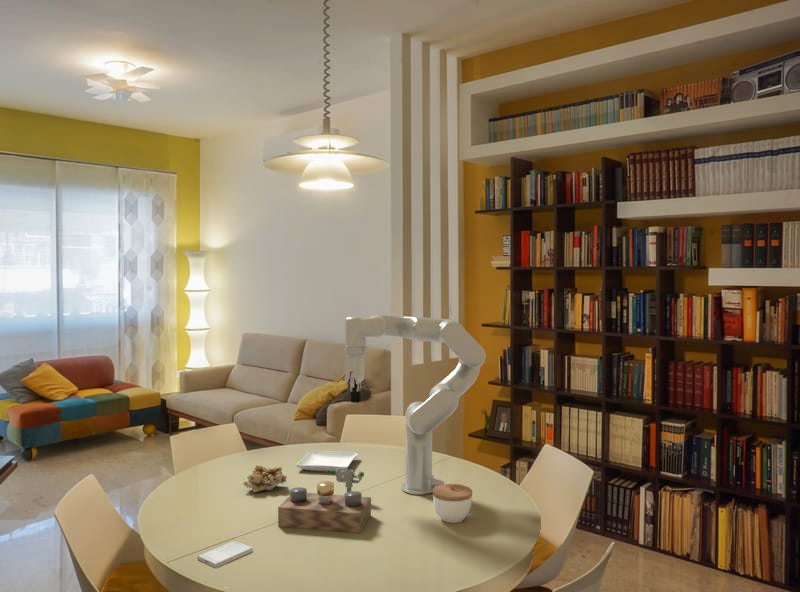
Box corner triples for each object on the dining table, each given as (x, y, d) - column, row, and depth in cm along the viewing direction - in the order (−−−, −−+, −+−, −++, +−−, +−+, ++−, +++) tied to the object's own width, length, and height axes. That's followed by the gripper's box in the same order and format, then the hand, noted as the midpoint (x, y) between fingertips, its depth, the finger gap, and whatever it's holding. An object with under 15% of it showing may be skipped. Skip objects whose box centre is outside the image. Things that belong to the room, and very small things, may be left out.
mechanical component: (362, 501, 216) (362, 473, 215) (333, 499, 218) (333, 471, 217) (364, 498, 219) (364, 470, 218) (336, 496, 221) (336, 468, 220)
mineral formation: (255, 481, 237) (293, 480, 235) (242, 499, 224) (282, 499, 222) (252, 461, 235) (291, 460, 233) (239, 478, 222) (280, 477, 220)
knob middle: (335, 506, 201) (335, 481, 201) (331, 512, 196) (330, 487, 195) (320, 505, 202) (320, 480, 202) (315, 511, 197) (314, 486, 196)
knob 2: (363, 516, 199) (363, 491, 199) (359, 522, 194) (359, 497, 194) (347, 515, 200) (347, 490, 200) (342, 521, 195) (342, 496, 195)
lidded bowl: (445, 529, 193) (446, 493, 192) (425, 515, 204) (425, 481, 203) (480, 521, 199) (480, 487, 198) (458, 508, 210) (458, 475, 209)
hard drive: (234, 540, 182) (197, 555, 172) (252, 547, 177) (215, 563, 167) (234, 545, 182) (197, 561, 172) (252, 553, 177) (215, 569, 167)
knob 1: (309, 512, 203) (308, 487, 202) (303, 518, 198) (303, 493, 197) (293, 511, 204) (293, 486, 203) (287, 517, 199) (287, 492, 198)
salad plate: (310, 457, 269) (310, 449, 269) (358, 459, 266) (358, 451, 266) (295, 473, 248) (294, 464, 248) (347, 475, 245) (347, 466, 245)
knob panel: (370, 515, 203) (370, 497, 203) (359, 533, 190) (359, 513, 189) (294, 509, 208) (294, 491, 208) (278, 526, 195) (278, 507, 194)
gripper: (351, 348, 233) (351, 397, 234) (339, 353, 219) (339, 405, 219) (370, 349, 232) (370, 398, 232) (360, 354, 217) (360, 406, 218)
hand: (355, 402), depth 226 cm, fingers closed
